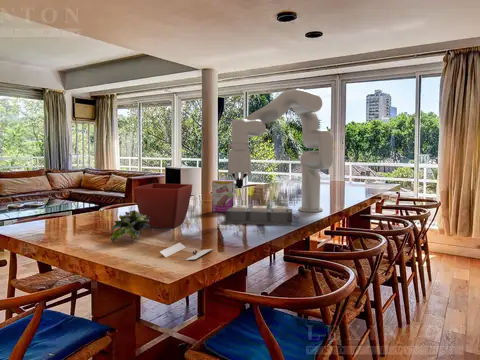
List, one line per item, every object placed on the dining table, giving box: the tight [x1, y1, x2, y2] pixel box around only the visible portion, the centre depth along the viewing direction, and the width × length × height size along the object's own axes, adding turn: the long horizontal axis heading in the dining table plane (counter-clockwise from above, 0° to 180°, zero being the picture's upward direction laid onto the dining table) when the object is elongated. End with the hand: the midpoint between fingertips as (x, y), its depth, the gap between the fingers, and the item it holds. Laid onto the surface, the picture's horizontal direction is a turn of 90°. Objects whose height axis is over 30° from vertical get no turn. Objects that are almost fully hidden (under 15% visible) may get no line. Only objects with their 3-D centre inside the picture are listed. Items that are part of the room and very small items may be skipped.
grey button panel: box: [224, 207, 293, 226], centre depth 163 cm, size 14×29×5 cm, turn 81°
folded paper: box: [159, 242, 213, 261], centre depth 111 cm, size 12×12×2 cm
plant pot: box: [133, 182, 193, 229], centre depth 153 cm, size 19×19×17 cm
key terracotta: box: [251, 205, 268, 212], centre depth 163 cm, size 6×6×3 cm
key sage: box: [272, 205, 288, 212], centre depth 161 cm, size 6×6×3 cm
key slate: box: [232, 204, 248, 211], centre depth 164 cm, size 6×6×3 cm
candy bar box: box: [211, 179, 235, 213], centre depth 187 cm, size 11×5×16 cm, turn 84°
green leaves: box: [110, 209, 151, 244], centre depth 127 cm, size 13×12×14 cm
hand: (239, 188), depth 163 cm, fingers closed
